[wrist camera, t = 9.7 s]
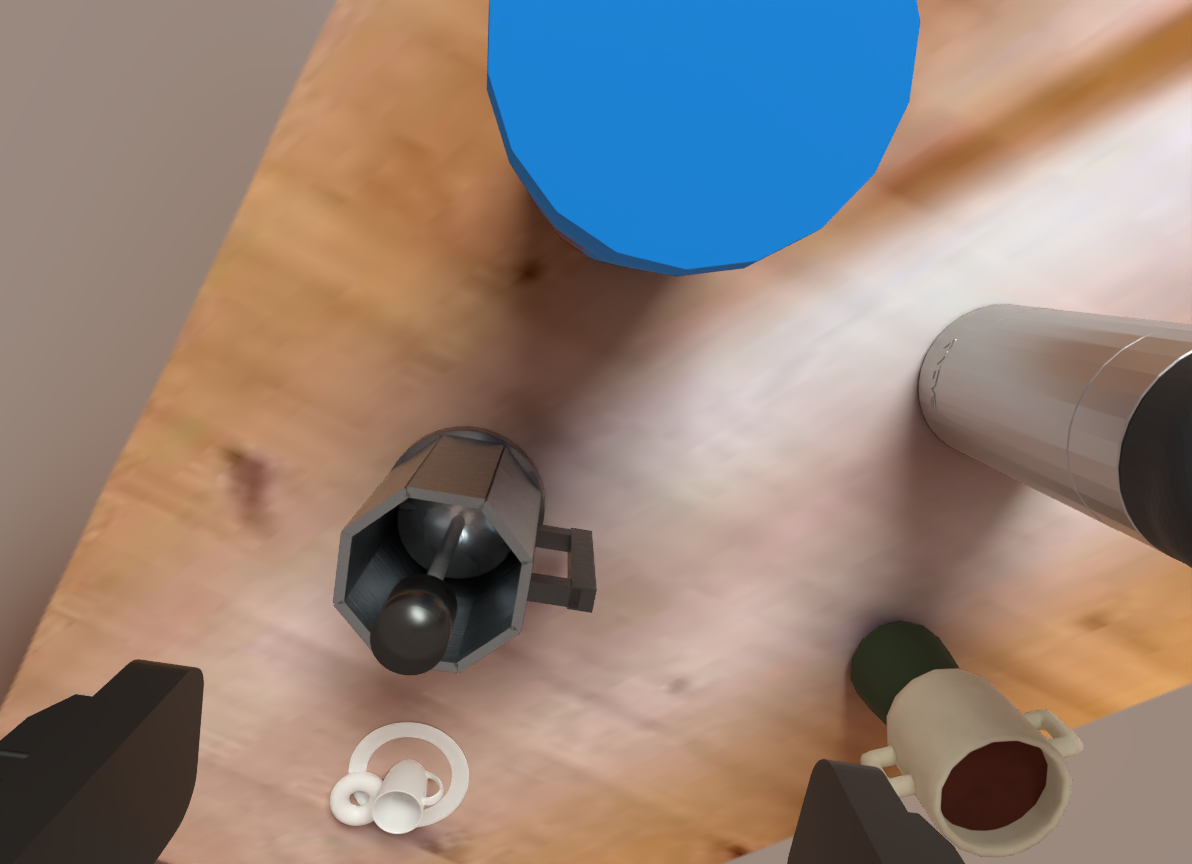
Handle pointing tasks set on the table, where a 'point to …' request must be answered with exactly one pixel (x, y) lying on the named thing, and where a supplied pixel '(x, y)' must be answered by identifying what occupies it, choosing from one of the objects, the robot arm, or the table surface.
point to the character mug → (963, 744)
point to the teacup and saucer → (399, 784)
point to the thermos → (696, 119)
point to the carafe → (512, 505)
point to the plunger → (432, 582)
